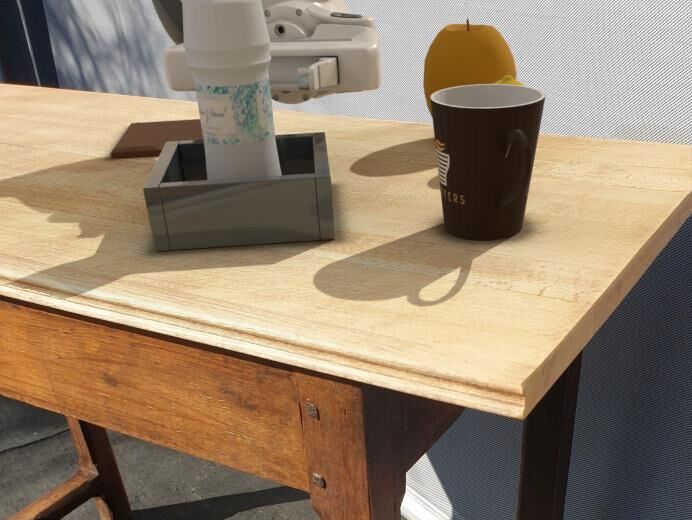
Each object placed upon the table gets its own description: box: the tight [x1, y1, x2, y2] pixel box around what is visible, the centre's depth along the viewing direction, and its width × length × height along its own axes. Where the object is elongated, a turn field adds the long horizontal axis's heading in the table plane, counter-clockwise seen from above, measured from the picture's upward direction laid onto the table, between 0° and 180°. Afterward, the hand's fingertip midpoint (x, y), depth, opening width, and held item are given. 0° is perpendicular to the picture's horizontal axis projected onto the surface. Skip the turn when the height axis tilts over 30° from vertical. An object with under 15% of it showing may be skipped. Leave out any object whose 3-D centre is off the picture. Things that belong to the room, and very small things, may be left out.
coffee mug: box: [430, 84, 546, 241], centre depth 64 cm, size 12×9×10 cm
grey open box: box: [142, 131, 336, 252], centre depth 71 cm, size 14×14×5 cm
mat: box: [110, 118, 203, 159], centre depth 96 cm, size 14×14×1 cm
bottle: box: [182, 0, 281, 180], centre depth 67 cm, size 7×7×20 cm
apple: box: [422, 18, 518, 117], centre depth 88 cm, size 10×10×12 cm
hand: (252, 80), depth 71 cm, fingers open, 8 cm apart
